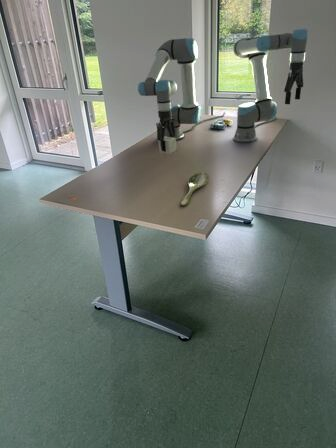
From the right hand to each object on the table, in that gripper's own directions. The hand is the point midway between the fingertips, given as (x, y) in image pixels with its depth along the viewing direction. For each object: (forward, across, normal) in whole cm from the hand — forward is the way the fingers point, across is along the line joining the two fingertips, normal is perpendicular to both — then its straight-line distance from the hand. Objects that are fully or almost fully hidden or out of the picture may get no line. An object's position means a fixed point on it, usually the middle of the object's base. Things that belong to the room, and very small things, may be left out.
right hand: (292, 101), depth 195 cm
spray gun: (+29, -26, -66) cm, 76 cm away
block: (+21, +56, -50) cm, 78 cm away
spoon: (+29, +78, -14) cm, 84 cm away
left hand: (+20, +56, -50) cm, 78 cm away
